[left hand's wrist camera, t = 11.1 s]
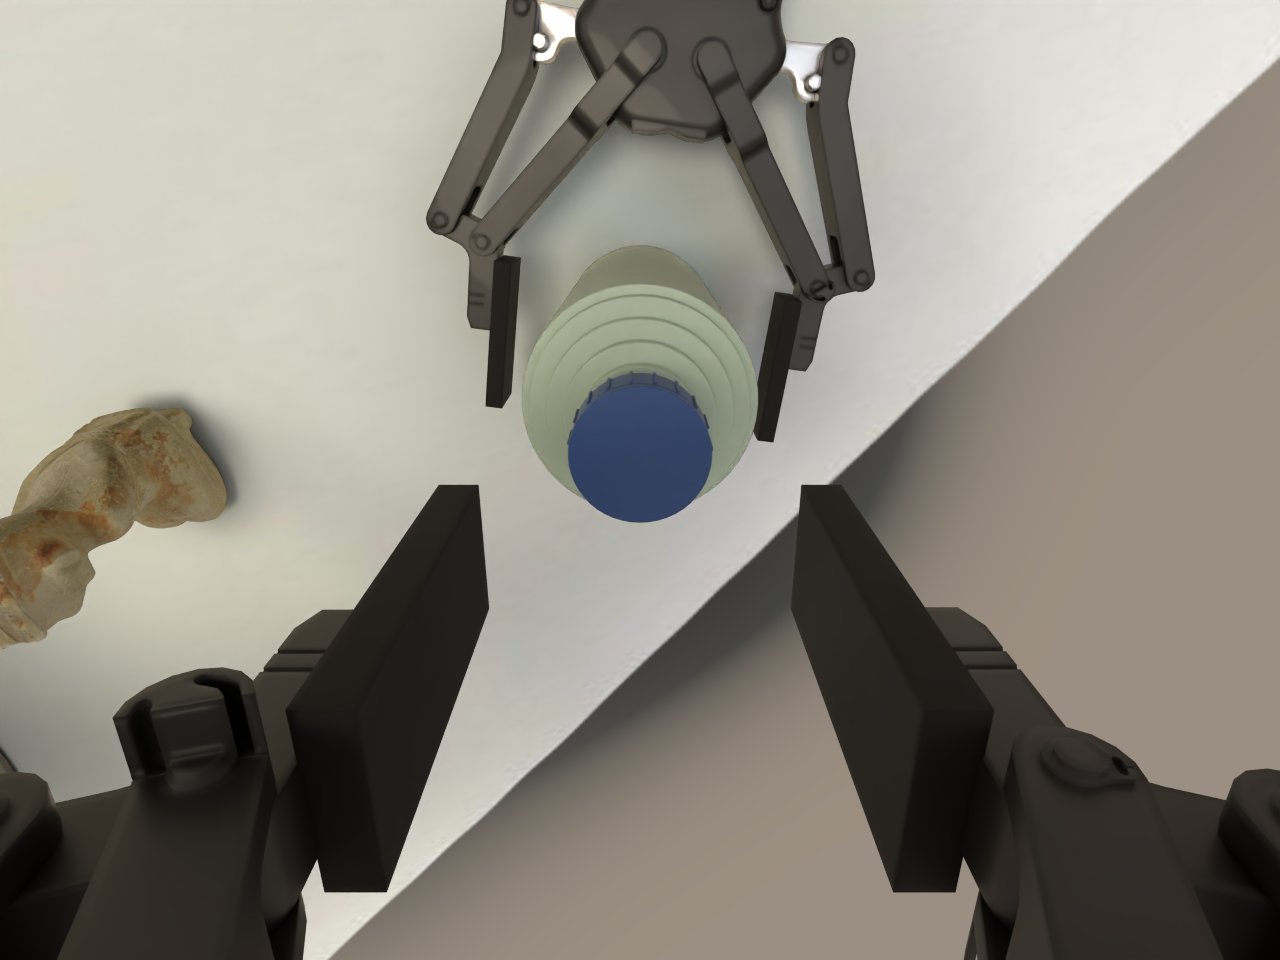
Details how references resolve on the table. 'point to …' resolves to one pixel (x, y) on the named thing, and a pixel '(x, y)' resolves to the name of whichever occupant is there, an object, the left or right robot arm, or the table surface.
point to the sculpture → (97, 510)
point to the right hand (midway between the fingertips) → (631, 417)
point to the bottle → (640, 354)
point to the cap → (639, 448)
